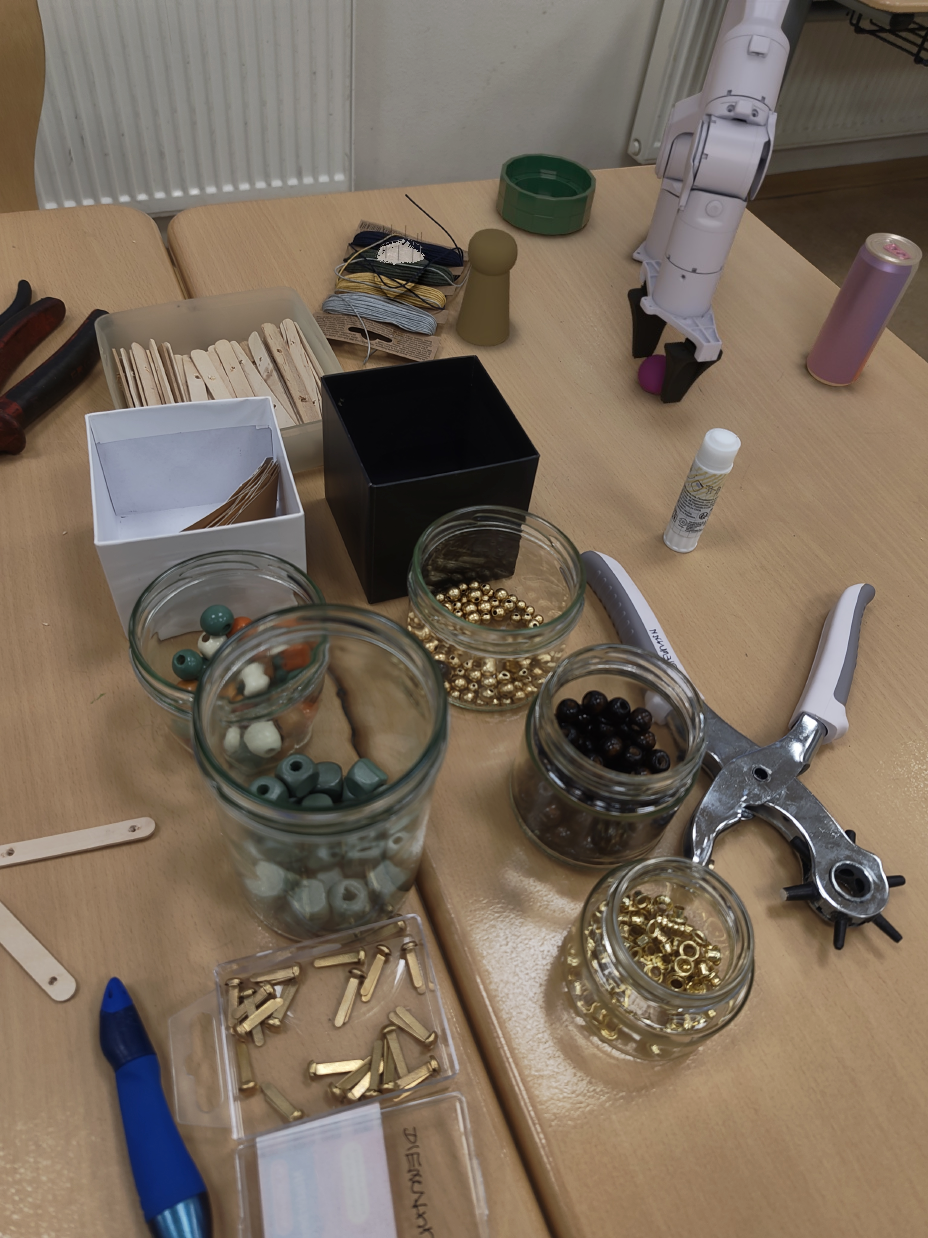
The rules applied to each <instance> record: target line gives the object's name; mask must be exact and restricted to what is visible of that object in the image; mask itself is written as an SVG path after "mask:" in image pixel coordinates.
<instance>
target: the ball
mask: <svg viewBox="0 0 928 1238" xmlns="http://www.w3.org/2000/svg"><path fill="white" fill-rule="evenodd" d="M665 369H666V355H665V354H661V353H660V354H659V353H658V354H653V355H652V356H649V357H648V358H644V360H643V361H642V362H641V363H640V365H639V367H638V369H637V370H638V371H637V381H638V383H639V386H640V387H641V388H642V390H644V391H645V392H647V393H650V394H656V395H657V394H661V389H662V385H663V381H664V376H665Z"/></svg>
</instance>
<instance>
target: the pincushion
mask: <svg viewBox="0 0 928 1238" xmlns="http://www.w3.org/2000/svg"><path fill="white" fill-rule="evenodd" d="M390 227H391V228H390V241H391V242H392V244H389V245H386V246H382V245H384V244H385V243H386V244H387V243H388V242H387V235H385V225H383V227H382V228H383V230H382V245H381V246H382V247H381V246H380V248H379V249H380V250H379V249H378V250H379V252H378V251H377V252H378V255H380V256H378V255H377V258H378V259H377V260H381V261H383V260H384V261H385V262H386V261H388V262H386V263H389V262H390V263H391V262H392V263H393V265H395V264H396V263H401V262H402V263H404V262H407V263H408V262H409V263H411V262H412V263H414V262H417V261H420V260H423V259H424V257H423V256H425V255H424V254H423V253H422V254H423V255H422V254H421V248H422V245H420V252H417V251H418V250H416V249H413V248H414V247H413V246H412V247H413V248H412V247H411V245H410V246H409V244H410V243H409V242H408V241H407V242H406V243H405V244H404V245H402V243H404V242H405V240H404V239H407V238H406V236H407V234H406V233H407V226H405V230H404V238H403V239H401V240H402V241H399V240H397V241H398V242H396V243H393V241H392V238H393V237H392V236H393V235H392V234H393V224H391V226H390ZM416 236H417V238H416V244H417V245H419V244H418V241H419V234H417V235H416ZM384 237H385V238H384ZM422 237H423V232H422V231H421V232H420V240H422V239H423V238H422ZM384 240H385V241H384ZM384 242H385V243H384ZM399 242H400V243H399ZM413 245H414V241H413ZM408 246H409V247H408ZM392 247H393V248H392ZM410 247H411V248H410ZM383 250H385V251H383ZM383 252H384V253H383ZM382 253H383V254H382ZM381 261H380V262H381ZM385 262H384V263H385Z"/></svg>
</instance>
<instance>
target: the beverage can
mask: <svg viewBox="0 0 928 1238" xmlns="http://www.w3.org/2000/svg"><path fill="white" fill-rule="evenodd" d="M922 258H923V251H922V249H921V248H920V247H919V246H918V245H917V244H916V243H915V242H913V241H912V240H910V239H908V238H906V237H903V236H902V235H899V234H894V233H889V232H875V233H871V234H870V235H869V236H867V238H866V239H865V242H864V243H863V244H862V245H861V246H860V247H859V250H858V252H857V253H856V255H855V257H854V259H853V262H852V264H851V266H850V268H849V270H848V273H847V274H846V277H845V278H844V280H843V283H842V285H841V287H840V289H839V291H838V293H837V295H836V297H835V299H834V301H833V304H832V306H831V307H830V310H829V312H828V314H827V316H826V318H825V320H824V322H823V324H822V326H821V328H820V330H819V333H818V335H817V337H816V339H815V341H814V343H813V345H812V347H811V349H810V351H809V354H808V356H807V358H806V367H807V370H808V372H809V374H810V375H811V376H812V377H813V378H814V379H815V380H817V381H819V382H820V383H822V384H824V385H828V386H832V387H846V386H848V385H851V384H853V383H854V382H855V381H858V379H859V378H860V376H861V374H862V371H863V370H864V368H865V366H866V364H867V363H868V360H869V359H870V357H871V356H872V354H873V352H874V350H875V349H876V346H877V344H878V342H879V340H880V339H881V337H882V335H883V334H884V332H885V330H886V328H887V326H888V325H889V323H890V320H891V318H892V317H893V315H894V313H895V311H896V309H897V308H898V306H899V304H900V302H901V301H902V298H903V297H904V295H905V293H906V291H907V290H908V288H909V286H910V284H911V282H912V280H913V279H914V277H915V275H916V273H917V271H918V269H919V266H920V261H921V259H922Z"/></svg>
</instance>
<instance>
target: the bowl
mask: <svg viewBox="0 0 928 1238" xmlns="http://www.w3.org/2000/svg"><path fill="white" fill-rule="evenodd" d="M596 188H597V178H596V177H595V175H594V174H593V173H592V172H591V170H590V169H589V168H588V167H586V166H584V165H583V164H581V163H580V162H578V161H576V160H572V159H570V158H567V157H564V156H561V155H555V154H549V153H541V152H540V153H539V152H538V153H523V154H520V155H516V156H513V157H510V158H509V159H507V160H506V161H505V162H504V163H502V165H501V169H500V176H499V183H498V191H497V200H496V206H495V208H496V210H497V211H498V212H499V215H500V216H501V218H502V219H504V220H506V221H507V222H508V223H510V224H511V225H513V226H514V227H516V228H519V229H522V230H525V231H527V232H530V233H534V234H541V235H547V236H553V235H567V234H571V233H574V232H577V231H579V230H582V229H583V228H584V227H585V226H586V225H587V224H588V223H589V221H590V215H591V211H592V206H593V203H594V198H595V193H596Z"/></svg>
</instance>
